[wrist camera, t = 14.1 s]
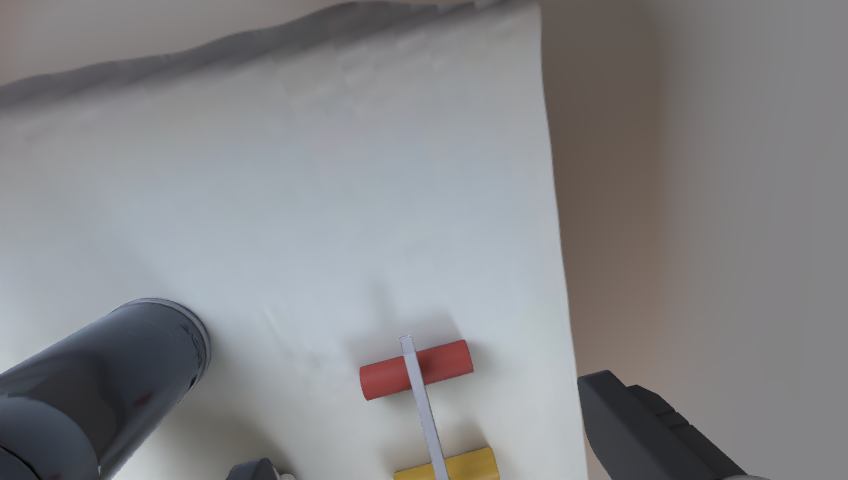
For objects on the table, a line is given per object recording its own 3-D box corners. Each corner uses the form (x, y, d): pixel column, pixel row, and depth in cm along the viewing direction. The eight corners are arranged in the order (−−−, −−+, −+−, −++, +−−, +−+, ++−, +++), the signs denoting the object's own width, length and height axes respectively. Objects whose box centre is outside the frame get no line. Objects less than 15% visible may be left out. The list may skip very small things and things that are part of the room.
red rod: (369, 388, 39) (367, 407, 36) (360, 361, 38) (358, 378, 35) (469, 361, 39) (475, 378, 36) (462, 334, 38) (468, 348, 35)
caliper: (463, 520, 39) (477, 588, 33) (453, 523, 39) (464, 592, 33) (410, 332, 35) (415, 370, 28) (398, 336, 35) (400, 374, 28)
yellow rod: (400, 490, 41) (401, 515, 38) (393, 465, 41) (393, 489, 38) (494, 463, 41) (502, 487, 39) (488, 439, 41) (496, 461, 38)
